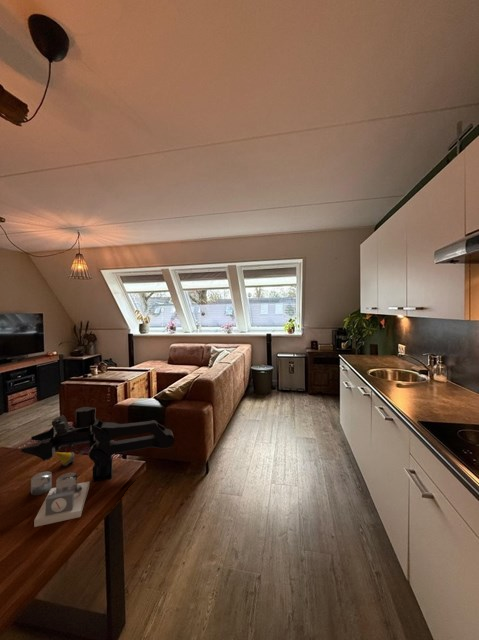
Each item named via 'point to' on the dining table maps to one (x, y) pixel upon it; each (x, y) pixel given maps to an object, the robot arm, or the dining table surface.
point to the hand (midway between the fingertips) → (26, 443)
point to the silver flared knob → (41, 483)
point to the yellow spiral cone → (65, 457)
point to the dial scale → (62, 505)
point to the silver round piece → (66, 483)
